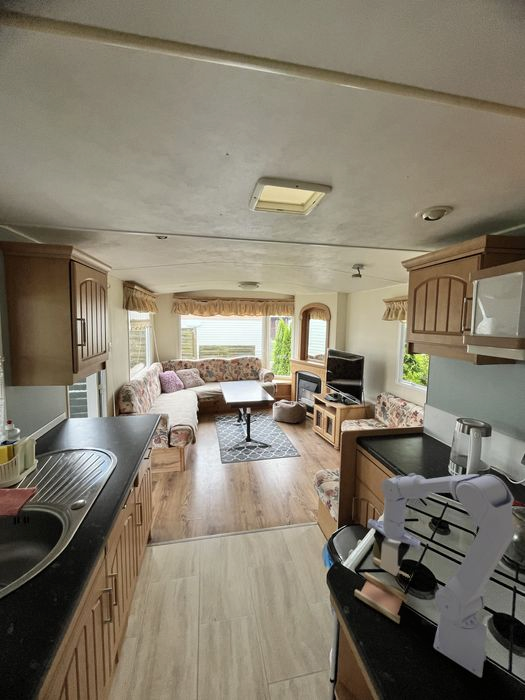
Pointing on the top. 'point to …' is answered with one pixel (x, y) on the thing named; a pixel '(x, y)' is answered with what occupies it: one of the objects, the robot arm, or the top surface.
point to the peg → (390, 556)
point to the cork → (376, 549)
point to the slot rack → (382, 595)
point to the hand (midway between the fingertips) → (390, 559)
